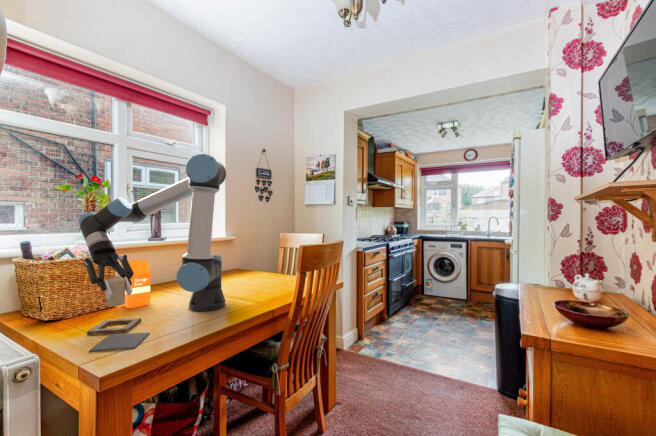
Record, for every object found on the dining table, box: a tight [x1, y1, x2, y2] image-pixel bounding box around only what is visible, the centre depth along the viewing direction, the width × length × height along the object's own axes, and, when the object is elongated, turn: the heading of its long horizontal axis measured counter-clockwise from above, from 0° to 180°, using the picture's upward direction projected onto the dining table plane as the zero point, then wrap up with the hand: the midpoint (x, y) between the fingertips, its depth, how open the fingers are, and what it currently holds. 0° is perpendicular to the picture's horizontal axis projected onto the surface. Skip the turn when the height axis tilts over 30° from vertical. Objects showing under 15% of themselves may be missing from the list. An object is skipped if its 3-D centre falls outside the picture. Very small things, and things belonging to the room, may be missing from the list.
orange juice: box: [122, 259, 151, 309], centre depth 138 cm, size 8×9×20 cm
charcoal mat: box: [88, 331, 150, 353], centre depth 95 cm, size 12×12×1 cm
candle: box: [105, 275, 125, 307], centre depth 108 cm, size 6×6×10 cm
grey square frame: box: [86, 317, 142, 336], centre depth 108 cm, size 12×12×1 cm
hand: (120, 295), depth 106 cm, fingers closed on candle, 5 cm apart
